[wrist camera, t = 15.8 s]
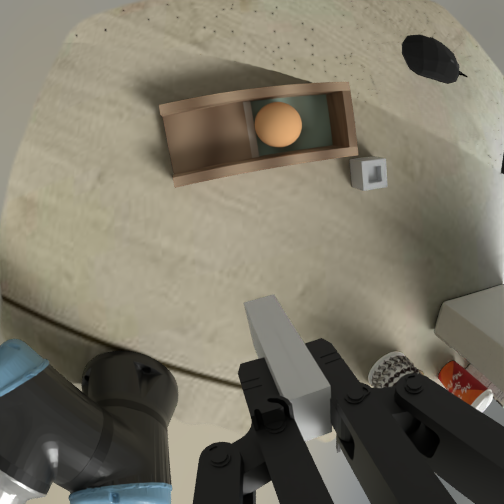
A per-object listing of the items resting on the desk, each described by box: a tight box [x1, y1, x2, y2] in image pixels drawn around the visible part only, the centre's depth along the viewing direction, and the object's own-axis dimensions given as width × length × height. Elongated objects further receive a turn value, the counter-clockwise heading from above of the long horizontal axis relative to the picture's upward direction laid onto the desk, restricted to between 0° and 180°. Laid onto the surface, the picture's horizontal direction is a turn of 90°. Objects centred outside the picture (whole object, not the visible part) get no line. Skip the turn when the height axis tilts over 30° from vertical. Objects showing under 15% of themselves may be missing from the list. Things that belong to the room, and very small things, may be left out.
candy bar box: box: [465, 363, 504, 408], centre depth 56 cm, size 11×5×16 cm, turn 56°
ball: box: [255, 102, 302, 147], centre depth 32 cm, size 5×5×5 cm
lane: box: [159, 82, 358, 188], centre depth 32 cm, size 20×8×4 cm, turn 99°
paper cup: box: [438, 361, 493, 412], centre depth 53 cm, size 8×8×14 cm
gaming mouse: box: [402, 35, 467, 84], centre depth 34 cm, size 6×15×4 cm, turn 88°
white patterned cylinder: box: [368, 351, 436, 474], centre depth 42 cm, size 9×9×25 cm
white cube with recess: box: [349, 156, 387, 191], centre depth 37 cm, size 4×4×3 cm
